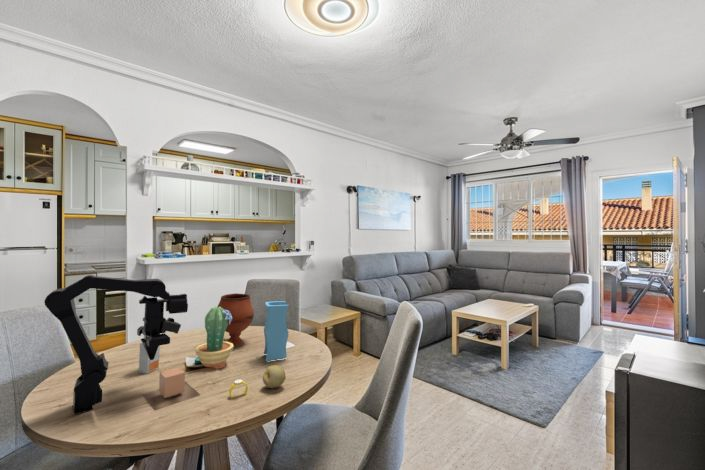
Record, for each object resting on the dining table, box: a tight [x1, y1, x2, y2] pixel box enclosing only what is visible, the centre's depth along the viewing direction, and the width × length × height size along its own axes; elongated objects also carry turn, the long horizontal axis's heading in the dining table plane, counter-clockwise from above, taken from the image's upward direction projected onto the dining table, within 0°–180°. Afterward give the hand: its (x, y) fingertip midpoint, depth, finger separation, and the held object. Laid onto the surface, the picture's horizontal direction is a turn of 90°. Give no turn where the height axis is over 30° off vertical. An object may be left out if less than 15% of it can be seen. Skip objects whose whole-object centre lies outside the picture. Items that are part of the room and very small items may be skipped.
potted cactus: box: [195, 306, 234, 370], centre depth 136 cm, size 15×15×25 cm
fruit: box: [262, 365, 287, 389], centre depth 117 cm, size 8×8×8 cm
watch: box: [228, 378, 249, 399], centre depth 109 cm, size 6×3×6 cm, turn 124°
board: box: [141, 381, 201, 411], centre depth 108 cm, size 14×14×1 cm
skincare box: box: [138, 342, 161, 375], centre depth 130 cm, size 6×4×12 cm
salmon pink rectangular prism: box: [158, 367, 186, 398], centre depth 108 cm, size 6×6×7 cm
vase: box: [263, 300, 290, 361], centre depth 147 cm, size 10×10×25 cm
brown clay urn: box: [216, 292, 255, 348], centre depth 164 cm, size 19×19×25 cm
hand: (151, 359), depth 111 cm, fingers closed
